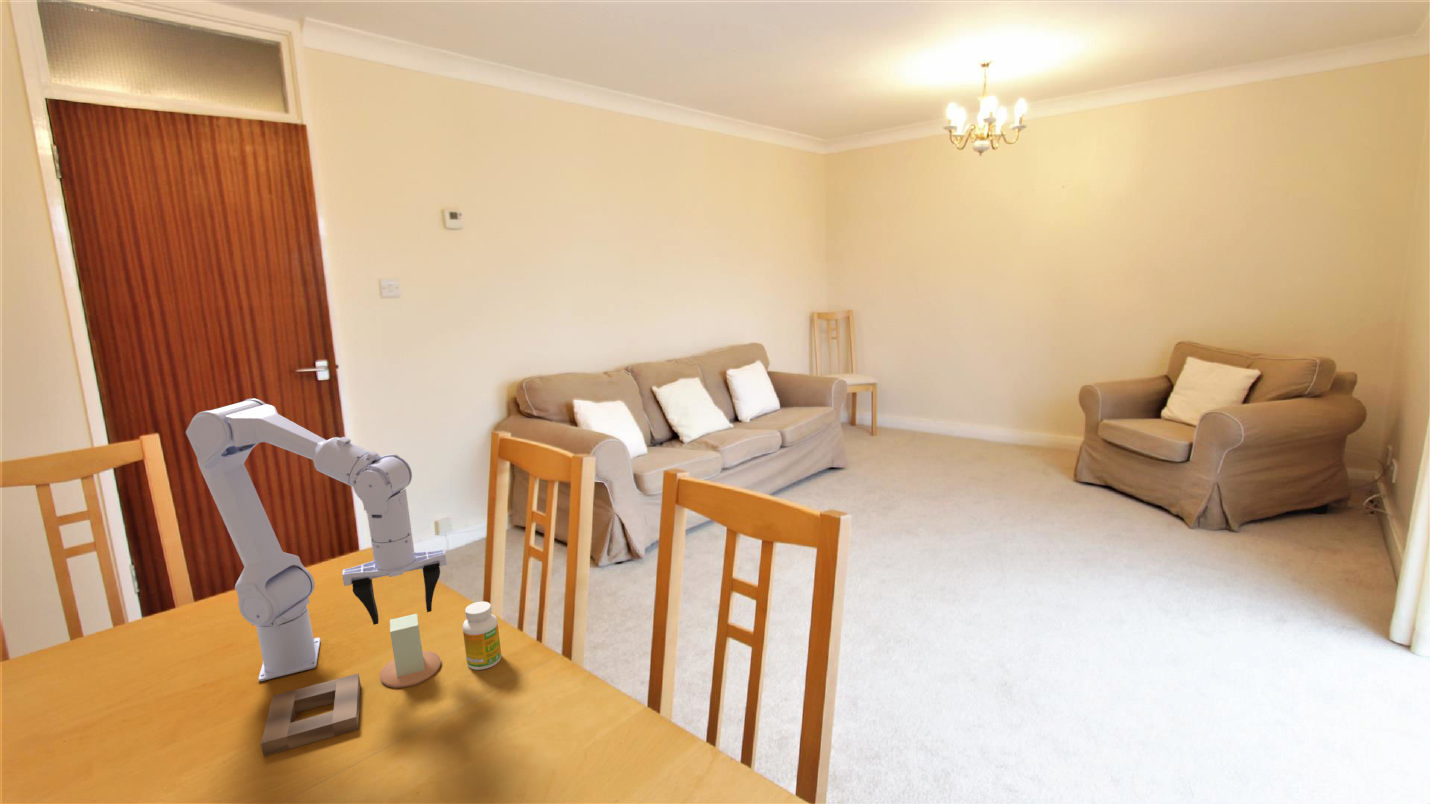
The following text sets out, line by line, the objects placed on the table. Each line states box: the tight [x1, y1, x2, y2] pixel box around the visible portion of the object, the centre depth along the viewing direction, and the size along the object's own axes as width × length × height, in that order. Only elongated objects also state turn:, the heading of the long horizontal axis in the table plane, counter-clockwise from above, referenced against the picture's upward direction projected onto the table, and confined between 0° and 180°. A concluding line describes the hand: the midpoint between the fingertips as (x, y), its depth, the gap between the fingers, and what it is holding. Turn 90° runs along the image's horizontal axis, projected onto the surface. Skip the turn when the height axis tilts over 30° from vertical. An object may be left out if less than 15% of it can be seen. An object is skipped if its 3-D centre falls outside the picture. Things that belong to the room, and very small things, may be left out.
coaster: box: [379, 650, 442, 689], centre depth 109 cm, size 9×9×1 cm
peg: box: [389, 613, 424, 677], centre depth 108 cm, size 4×4×8 cm
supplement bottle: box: [462, 601, 502, 671], centre depth 110 cm, size 5×5×10 cm
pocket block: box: [260, 673, 362, 757], centre depth 98 cm, size 11×11×2 cm
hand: (402, 615), depth 107 cm, fingers open, 7 cm apart
